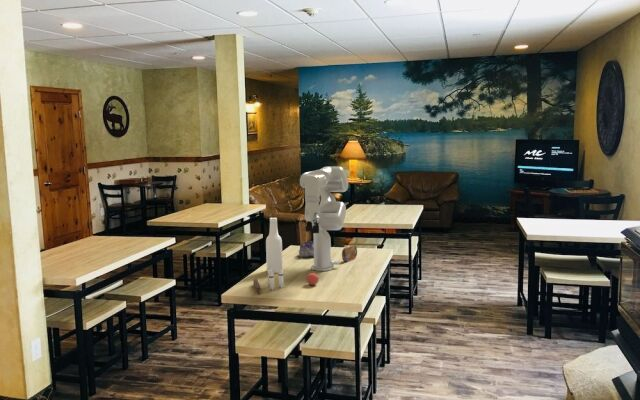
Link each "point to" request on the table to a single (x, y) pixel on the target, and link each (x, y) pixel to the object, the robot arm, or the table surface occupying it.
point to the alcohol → (274, 248)
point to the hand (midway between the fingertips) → (312, 231)
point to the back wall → (257, 286)
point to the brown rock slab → (349, 253)
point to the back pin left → (271, 280)
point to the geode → (307, 249)
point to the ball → (312, 279)
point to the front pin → (280, 278)
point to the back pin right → (268, 276)
